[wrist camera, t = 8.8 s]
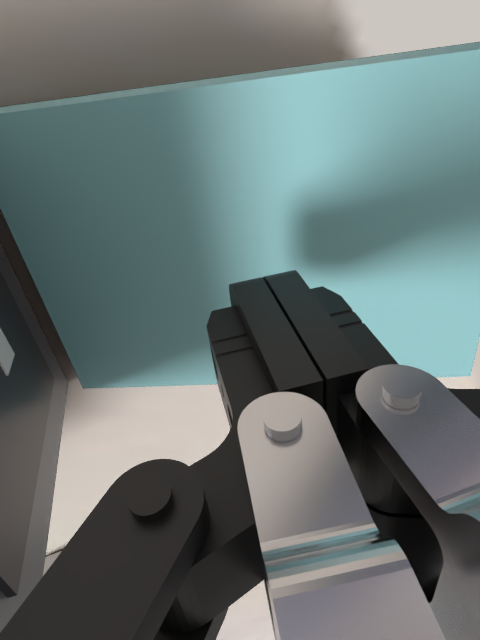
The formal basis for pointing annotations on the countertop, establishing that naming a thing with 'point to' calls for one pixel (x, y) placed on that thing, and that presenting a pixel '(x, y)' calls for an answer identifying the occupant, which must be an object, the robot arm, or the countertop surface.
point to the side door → (253, 208)
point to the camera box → (25, 442)
